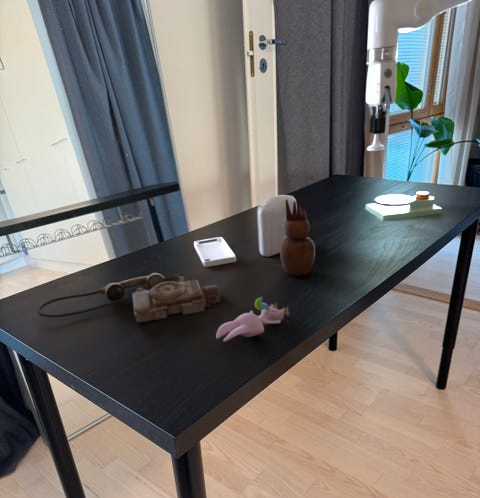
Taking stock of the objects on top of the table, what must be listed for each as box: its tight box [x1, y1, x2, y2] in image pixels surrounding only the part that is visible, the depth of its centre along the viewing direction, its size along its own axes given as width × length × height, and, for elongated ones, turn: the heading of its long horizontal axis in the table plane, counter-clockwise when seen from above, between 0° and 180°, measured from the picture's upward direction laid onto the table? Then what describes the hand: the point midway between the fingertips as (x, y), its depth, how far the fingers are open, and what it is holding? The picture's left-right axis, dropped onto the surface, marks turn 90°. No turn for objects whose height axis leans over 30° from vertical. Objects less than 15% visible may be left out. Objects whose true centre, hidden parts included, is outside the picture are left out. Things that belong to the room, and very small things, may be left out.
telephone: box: [37, 272, 222, 324], centre depth 77 cm, size 15×33×4 cm, turn 105°
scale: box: [364, 195, 443, 222], centre depth 114 cm, size 16×12×3 cm
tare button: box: [415, 190, 430, 200], centre depth 113 cm, size 3×3×2 cm
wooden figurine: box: [279, 199, 316, 277], centre depth 81 cm, size 7×6×15 cm
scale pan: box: [374, 194, 414, 207], centre depth 112 cm, size 10×10×1 cm
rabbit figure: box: [215, 296, 290, 343], centre depth 65 cm, size 6×6×15 cm
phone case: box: [193, 236, 237, 268], centre depth 98 cm, size 7×1×15 cm
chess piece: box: [366, 114, 385, 152], centre depth 118 cm, size 5×5×10 cm
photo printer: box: [256, 194, 298, 257], centre depth 94 cm, size 10×4×12 cm, turn 132°
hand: (376, 132), depth 118 cm, fingers closed on chess piece
